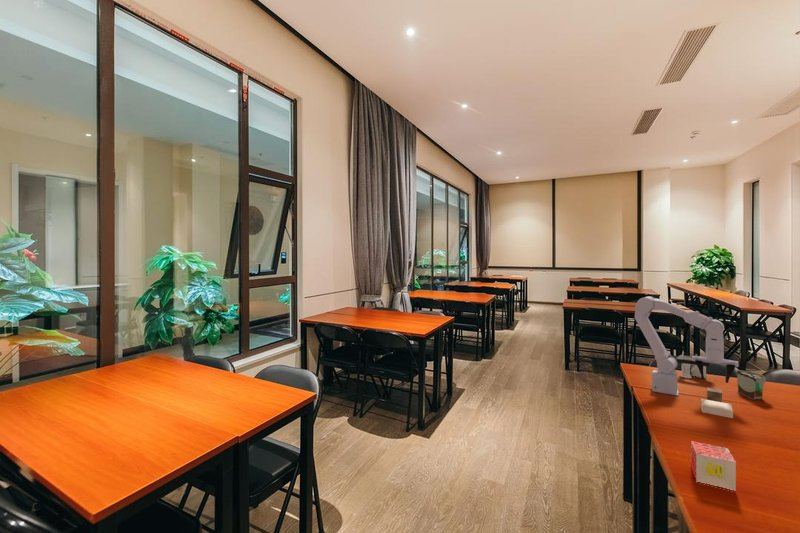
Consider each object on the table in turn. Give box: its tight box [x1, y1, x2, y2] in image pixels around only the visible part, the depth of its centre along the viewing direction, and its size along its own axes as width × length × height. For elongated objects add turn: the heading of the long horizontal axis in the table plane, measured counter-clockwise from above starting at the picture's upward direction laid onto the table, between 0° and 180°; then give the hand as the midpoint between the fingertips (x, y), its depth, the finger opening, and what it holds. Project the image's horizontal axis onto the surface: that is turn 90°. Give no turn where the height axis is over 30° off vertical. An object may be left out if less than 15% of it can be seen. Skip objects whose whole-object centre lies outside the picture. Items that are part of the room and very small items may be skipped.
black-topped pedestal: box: [676, 351, 713, 379], centre depth 179 cm, size 28×26×13 cm
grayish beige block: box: [706, 387, 723, 403], centre depth 149 cm, size 5×5×5 cm
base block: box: [700, 398, 734, 419], centre depth 139 cm, size 9×9×3 cm
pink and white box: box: [690, 440, 737, 492], centre depth 96 cm, size 8×8×8 cm
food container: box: [735, 369, 767, 401], centre depth 154 cm, size 12×6×10 cm, turn 168°
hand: (714, 380), depth 148 cm, fingers open, 7 cm apart
